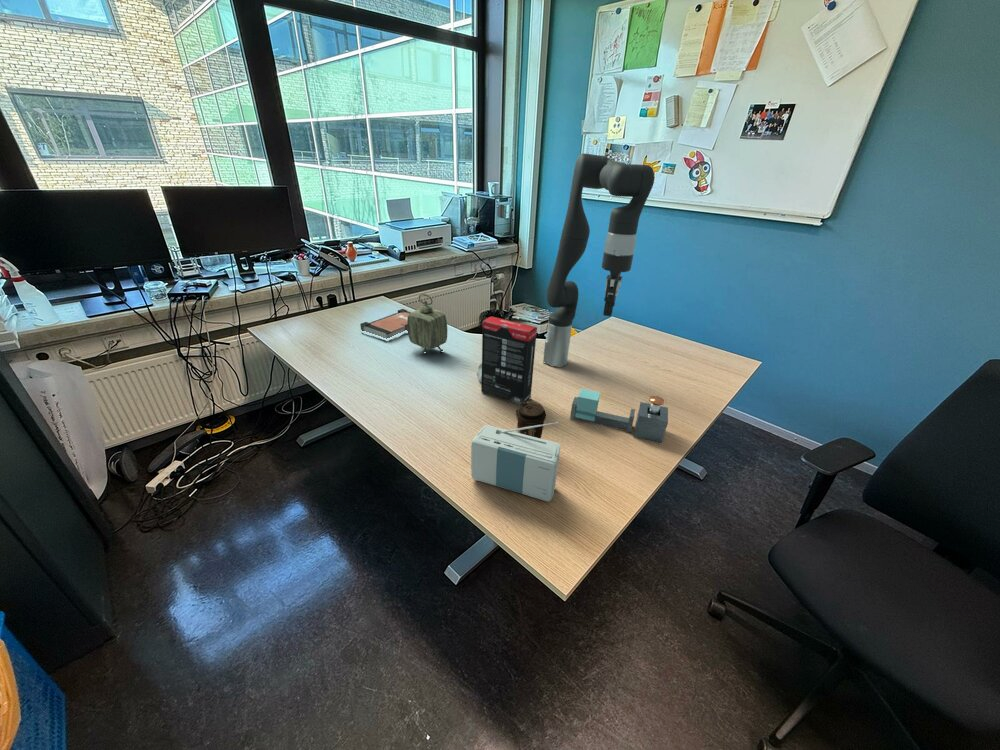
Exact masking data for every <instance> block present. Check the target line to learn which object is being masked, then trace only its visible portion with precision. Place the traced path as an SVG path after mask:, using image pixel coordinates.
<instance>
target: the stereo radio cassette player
mask: <svg viewBox="0 0 1000 750" xmlns="http://www.w3.org/2000/svg"><path fill="white" fill-rule="evenodd" d="M555 424H556V425H558V424H559V421H556V422H550V423H544V424H543V425H536V426H530V427H524V428H518V429H517V428H514V429H506V428H505V429H504V428H500V427H496V426H493V425H488V424H484V425H483V426H482V427H481V429H479V431H478V432H477V433H476V435H475V436H474V438H473V439H472V441H471V447H470V449H471V451H470V454H471V455H470V469H471V470H470V471H471V479H473V480H475V481H479V482H482V483H485V484H489V485H492V486H496V487H499V488H502V489H505V490H507V491H511V492H515V493H519V494H522V495H525V496H529V497H531V498H534V499H537V500H540V501H541V500H542V501H543V502H551V500H552V499H553V496H554V493H555V489H556V483H557V477H558V469H559V460H560V452H561V446H562V445H561V444H560V443H559V442H555V441H551V440H547V439H544V438H543V439H542V438H541V439H540V438H536V437H532V436H528V435H524V434H520V433H518V430H523V429H529V428H534V427H540V426H543V427H545V426H549V425H555Z"/></svg>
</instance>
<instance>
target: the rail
mask: <svg viewBox="0 0 1000 750" xmlns="http://www.w3.org/2000/svg"><path fill="white" fill-rule="evenodd" d="M577 402H578V397H577V396H574V398H573V400H572V403H571V411H570V416H569V420H571V421H574V420H577V421H583V422H586V423H591V424H595V425H599V426H603V427H608V428H612V429H616V430H622V431H625V432H626V433H628V434H631V433H632V429H633V428H632V427H633V425H634V420H635V415H636V414H635V413H636V409H634V408H630V413H629V417H628V416H627V417H626V416H622V415H617V414H613V413H607V412H603V411H598V410H597V412H596V416H595V421H590V420H586V419H581V418H577V417H575V415H576V408H577Z"/></svg>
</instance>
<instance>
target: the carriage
mask: <svg viewBox="0 0 1000 750" xmlns="http://www.w3.org/2000/svg"><path fill="white" fill-rule="evenodd" d="M600 397H601V391H600V392H599V391H595V390H590V389H585V388H580V391H579V393H578V402H577V408H576V415H575V417H577V418H581V419H586V420H590V421H595V416H596V412H597V411H598V408H599V402H600Z"/></svg>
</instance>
